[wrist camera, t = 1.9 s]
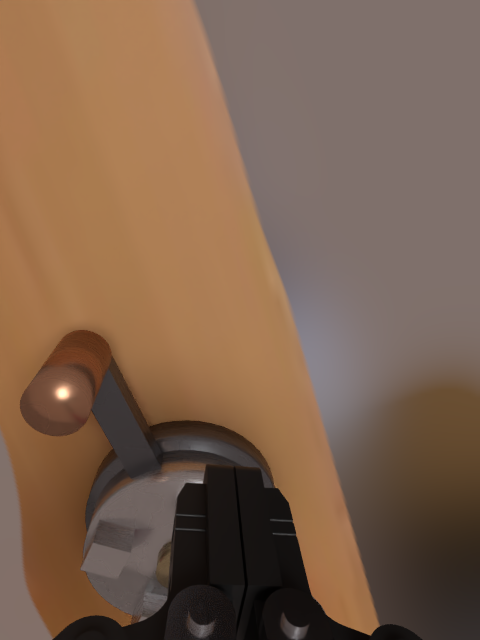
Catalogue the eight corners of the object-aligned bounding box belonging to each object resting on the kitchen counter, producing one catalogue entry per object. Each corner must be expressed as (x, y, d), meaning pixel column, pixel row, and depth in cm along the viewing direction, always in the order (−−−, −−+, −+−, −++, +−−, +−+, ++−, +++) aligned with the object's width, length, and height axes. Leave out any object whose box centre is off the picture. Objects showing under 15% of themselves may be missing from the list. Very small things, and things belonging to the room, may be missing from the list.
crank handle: (292, 554, 29) (313, 646, 24) (138, 604, 30) (124, 705, 24) (179, 287, 22) (173, 333, 17) (-23, 360, 22) (-93, 427, 17)
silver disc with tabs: (295, 530, 32) (301, 554, 30) (138, 582, 32) (134, 608, 30) (240, 395, 27) (243, 413, 25) (59, 457, 28) (49, 480, 26)
